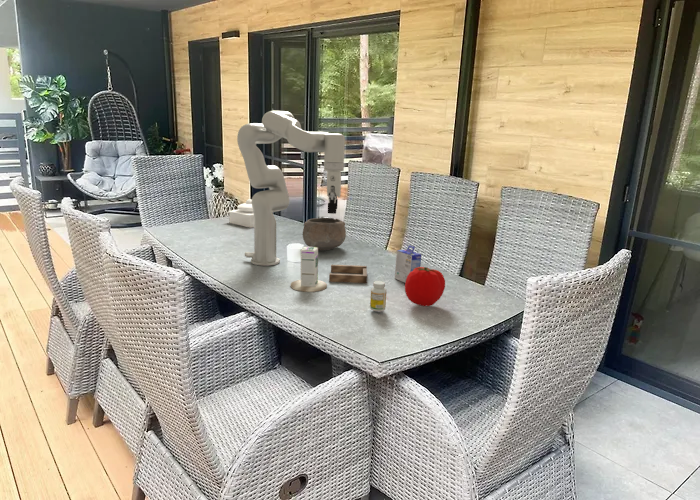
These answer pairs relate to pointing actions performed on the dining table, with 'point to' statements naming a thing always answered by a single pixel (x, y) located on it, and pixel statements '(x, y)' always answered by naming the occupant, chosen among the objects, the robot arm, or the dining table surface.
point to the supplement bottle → (378, 296)
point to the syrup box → (309, 266)
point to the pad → (297, 286)
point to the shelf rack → (348, 277)
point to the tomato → (424, 286)
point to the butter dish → (243, 215)
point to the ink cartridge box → (406, 263)
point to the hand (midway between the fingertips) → (332, 211)
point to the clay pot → (324, 233)
